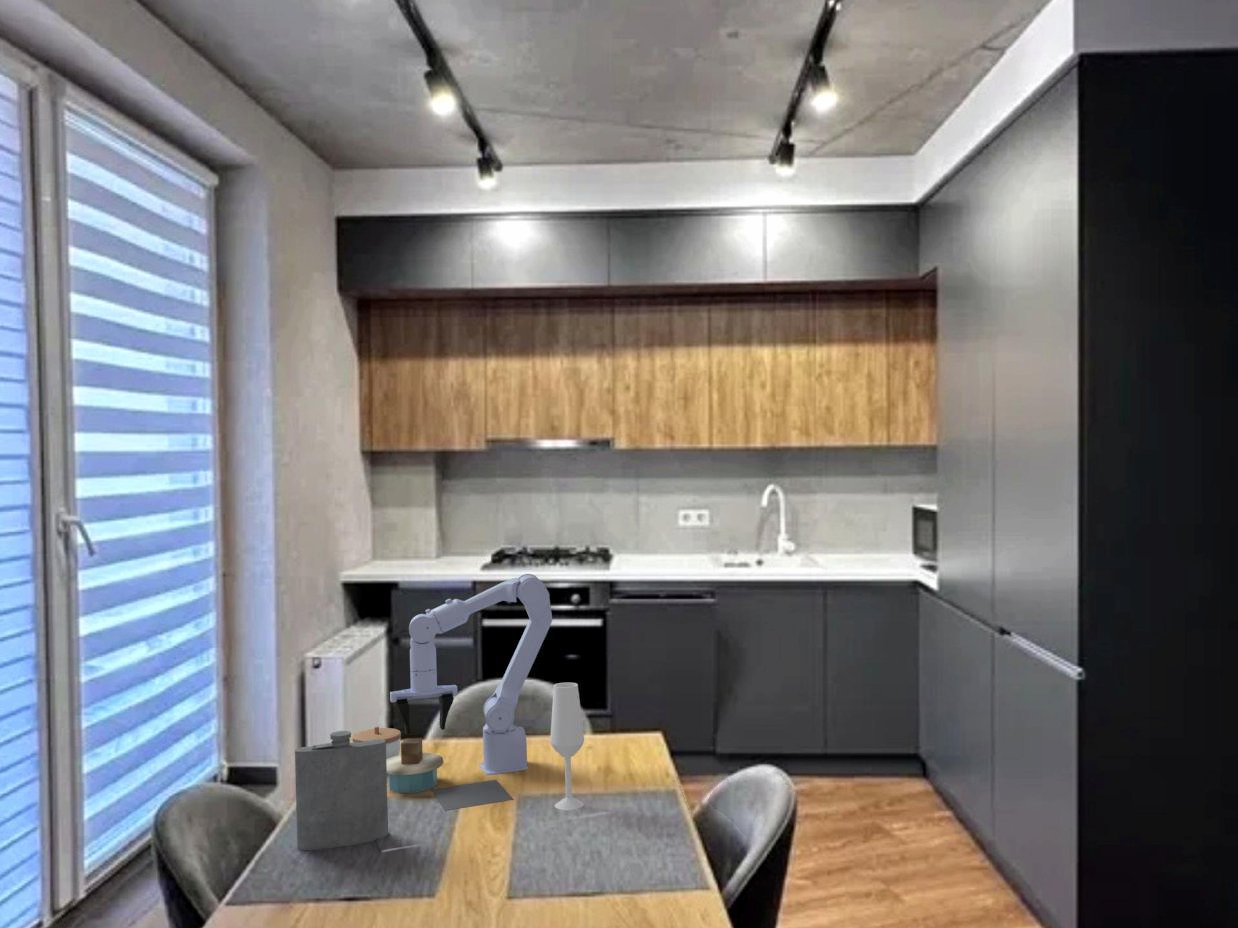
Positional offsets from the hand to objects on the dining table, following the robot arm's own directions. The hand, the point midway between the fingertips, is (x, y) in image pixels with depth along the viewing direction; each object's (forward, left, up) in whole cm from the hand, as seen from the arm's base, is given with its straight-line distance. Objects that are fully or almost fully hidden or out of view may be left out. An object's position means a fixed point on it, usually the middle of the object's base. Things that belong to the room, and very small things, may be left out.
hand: (425, 730), depth 210 cm
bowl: (+4, +6, -10) cm, 12 cm away
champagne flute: (-22, +33, -10) cm, 41 cm away
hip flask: (+21, +32, -10) cm, 40 cm away
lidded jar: (+9, -11, -10) cm, 17 cm away
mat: (-6, +18, -10) cm, 21 cm away
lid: (+4, +6, -5) cm, 9 cm away
